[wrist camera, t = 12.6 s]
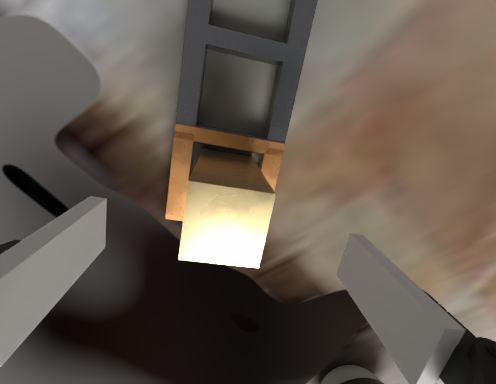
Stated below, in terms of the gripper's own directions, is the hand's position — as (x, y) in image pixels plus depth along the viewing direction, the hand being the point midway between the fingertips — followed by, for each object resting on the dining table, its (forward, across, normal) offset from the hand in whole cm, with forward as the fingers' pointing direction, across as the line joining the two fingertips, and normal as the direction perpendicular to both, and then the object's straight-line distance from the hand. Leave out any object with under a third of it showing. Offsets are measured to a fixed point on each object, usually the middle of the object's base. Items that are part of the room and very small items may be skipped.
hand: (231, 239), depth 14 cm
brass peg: (+13, 0, 0) cm, 13 cm away
